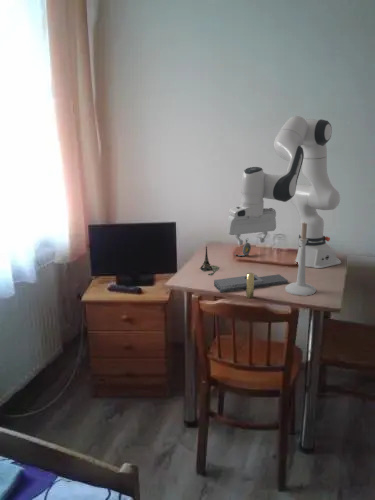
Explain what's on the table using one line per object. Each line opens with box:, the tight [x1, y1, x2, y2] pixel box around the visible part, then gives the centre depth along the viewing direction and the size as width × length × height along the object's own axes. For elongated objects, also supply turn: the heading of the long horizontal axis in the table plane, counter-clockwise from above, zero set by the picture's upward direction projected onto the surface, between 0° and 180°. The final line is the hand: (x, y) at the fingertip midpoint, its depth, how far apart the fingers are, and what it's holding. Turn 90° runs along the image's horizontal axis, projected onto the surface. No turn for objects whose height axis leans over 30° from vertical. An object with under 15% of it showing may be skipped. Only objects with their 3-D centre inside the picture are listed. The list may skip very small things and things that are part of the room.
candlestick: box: [284, 222, 317, 297], centre depth 188 cm, size 13×13×30 cm
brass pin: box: [245, 272, 255, 299], centre depth 185 cm, size 3×3×10 cm
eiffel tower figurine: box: [199, 245, 221, 277], centre depth 217 cm, size 15×10×13 cm
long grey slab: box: [213, 274, 288, 293], centre depth 199 cm, size 32×8×3 cm, turn 107°
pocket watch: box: [234, 238, 252, 257], centre depth 237 cm, size 8×8×10 cm
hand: (251, 243), depth 180 cm, fingers open, 8 cm apart
